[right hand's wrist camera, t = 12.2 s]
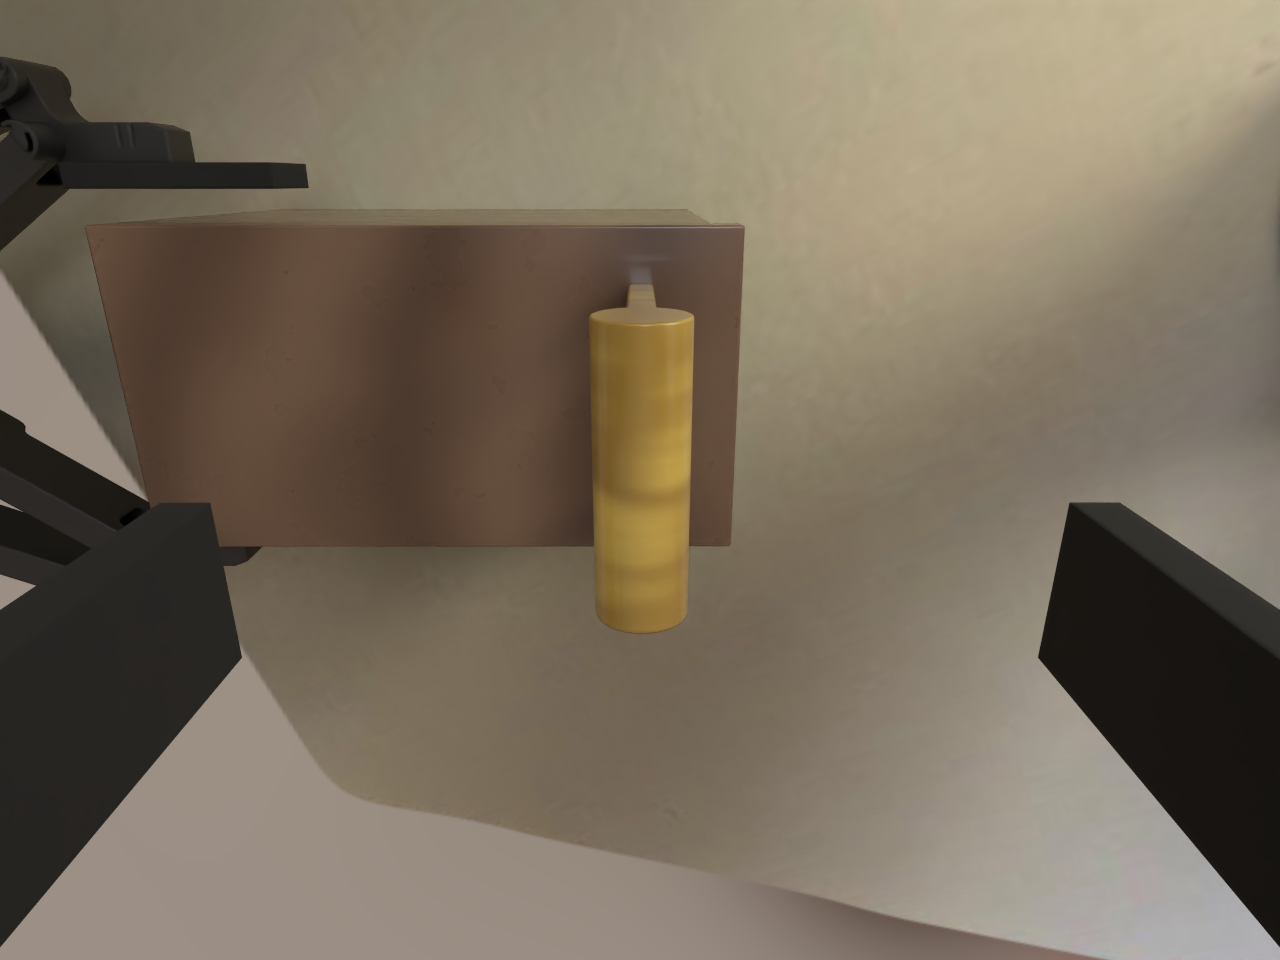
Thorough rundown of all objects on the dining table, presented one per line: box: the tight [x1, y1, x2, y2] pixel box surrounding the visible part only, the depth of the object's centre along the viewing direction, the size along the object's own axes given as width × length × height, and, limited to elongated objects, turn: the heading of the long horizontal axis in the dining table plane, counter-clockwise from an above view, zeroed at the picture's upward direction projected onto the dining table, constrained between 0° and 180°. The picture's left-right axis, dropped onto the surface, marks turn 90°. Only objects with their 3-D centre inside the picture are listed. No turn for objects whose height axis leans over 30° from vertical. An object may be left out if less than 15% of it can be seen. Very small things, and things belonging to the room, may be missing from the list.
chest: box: [122, 210, 709, 223], centre depth 29 cm, size 17×10×11 cm, turn 90°
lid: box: [85, 223, 745, 634], centre depth 20 cm, size 18×10×8 cm, turn 90°
